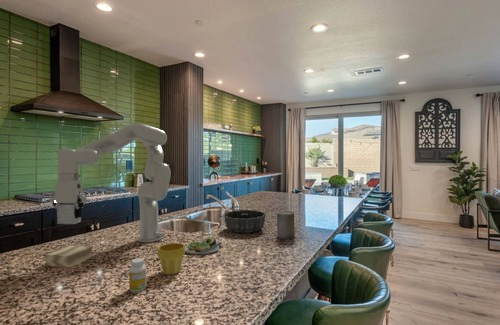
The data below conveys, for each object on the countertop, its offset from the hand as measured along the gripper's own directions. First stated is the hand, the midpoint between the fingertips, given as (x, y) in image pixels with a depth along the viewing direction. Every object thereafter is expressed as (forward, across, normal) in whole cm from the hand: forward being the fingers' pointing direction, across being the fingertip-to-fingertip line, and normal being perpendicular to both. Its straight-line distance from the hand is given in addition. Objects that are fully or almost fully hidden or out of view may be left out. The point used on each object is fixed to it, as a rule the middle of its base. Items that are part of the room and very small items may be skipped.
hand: (68, 217), depth 121 cm
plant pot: (+19, -49, +7) cm, 53 cm away
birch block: (+20, 0, 0) cm, 20 cm away
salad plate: (+20, -54, -21) cm, 61 cm away
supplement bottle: (+19, -43, +22) cm, 52 cm away
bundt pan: (+20, -70, -59) cm, 94 cm away
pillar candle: (+19, -95, -45) cm, 107 cm away
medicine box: (+3, 0, 0) cm, 3 cm away
